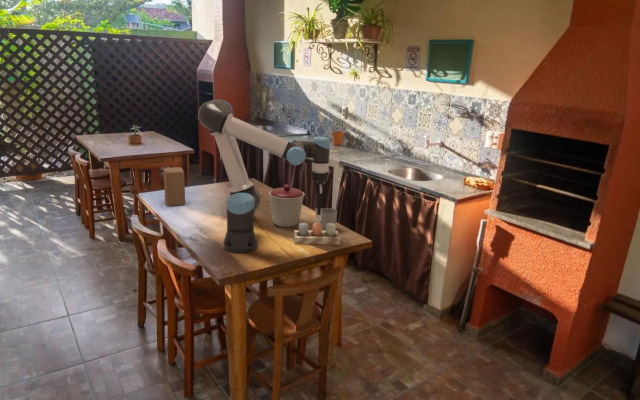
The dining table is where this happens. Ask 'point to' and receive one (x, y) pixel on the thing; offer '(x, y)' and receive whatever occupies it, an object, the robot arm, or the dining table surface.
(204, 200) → the dining table surface
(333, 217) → the cup
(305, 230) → the grey egg
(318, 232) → the brown egg
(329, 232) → the pale green egg
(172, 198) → the block
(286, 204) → the canister
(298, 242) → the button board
